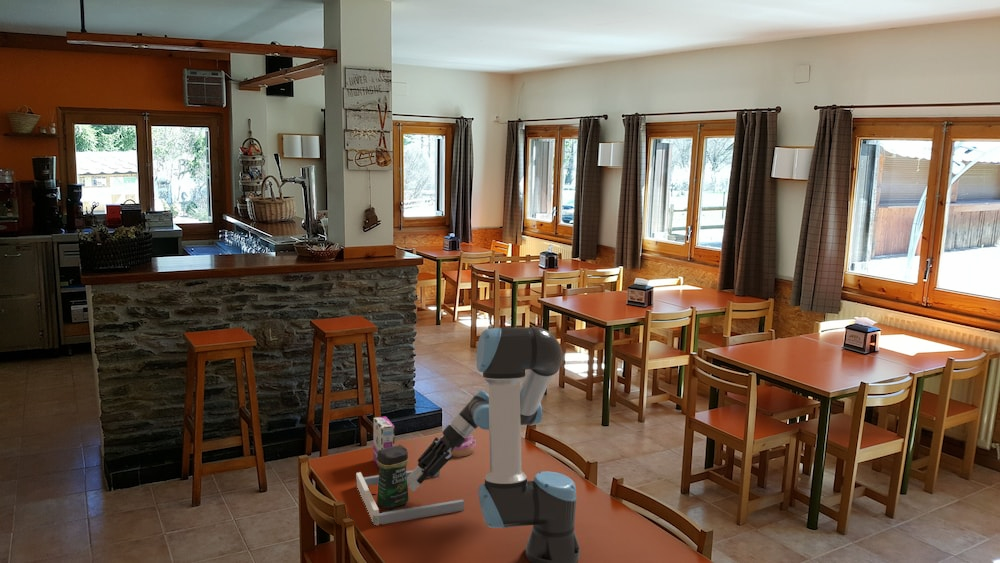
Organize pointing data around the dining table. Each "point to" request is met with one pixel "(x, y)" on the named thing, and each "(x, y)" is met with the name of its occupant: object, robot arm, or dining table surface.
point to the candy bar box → (382, 435)
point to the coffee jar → (392, 477)
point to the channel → (403, 513)
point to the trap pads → (396, 509)
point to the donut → (464, 447)
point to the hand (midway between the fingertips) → (409, 486)
